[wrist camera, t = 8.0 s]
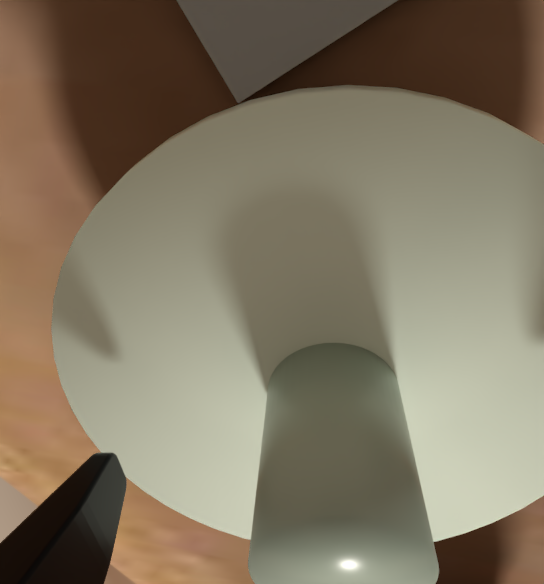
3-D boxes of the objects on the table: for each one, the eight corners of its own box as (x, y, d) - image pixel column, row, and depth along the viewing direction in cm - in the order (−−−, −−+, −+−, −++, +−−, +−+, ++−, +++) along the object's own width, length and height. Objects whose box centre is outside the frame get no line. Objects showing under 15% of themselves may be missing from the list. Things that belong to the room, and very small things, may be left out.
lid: (525, -99, 7) (848, -244, 3) (673, 451, 12) (854, 678, 8) (-48, 281, 11) (-259, 448, 7) (251, 563, 16) (232, 748, 12)
